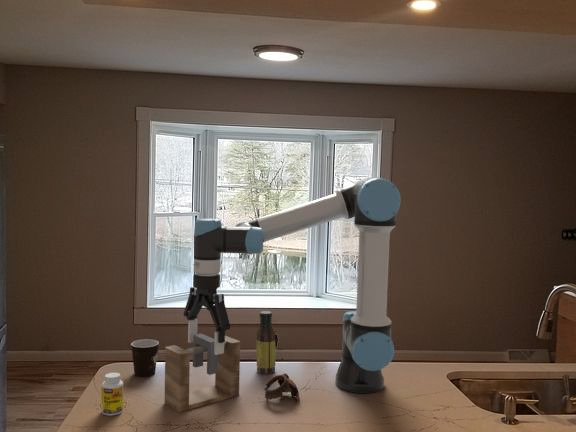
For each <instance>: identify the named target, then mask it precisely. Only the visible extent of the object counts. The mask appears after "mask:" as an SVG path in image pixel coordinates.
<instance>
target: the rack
mask: <svg viewBox="0 0 576 432" xmlns="http://www.w3.org/2000/svg"><path fill="white" fill-rule="evenodd" d="M164 348H165V349H164V404H166V405H167V406H169V407H170V408H172V409H173V410H175V411H177V413H181V412H187V411H190V410H192V409H196V408H199V407H202V406H206V405H209V404H213V403H216V402H220V401H224V400H227V399H230V398H234V397H237V396H240V373H241V372H240V368H241V367H240V365H241V364H240V363H241V359H240V358H241V341H240V340H238V339H235V338H232V337H230V336H227V335H225V342H224V353H222V354H218V370H217V373H215V374H214V376H215V378H214V385H212V386H208V387H204V388H200V389H195V390H192V391H190V370H191V368H190V365H191V364H190V361H191V360H190V358H191V356H193V354H198V353H202V352H203V353H206V352H207V348H204V347H202V346H199V347H195V348H193V347H190V348H186V349H185V348H182V347H180V346H178V345H176V344H175V345H174V344H173V345H169V346H165V347H164Z"/></svg>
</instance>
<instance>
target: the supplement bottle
mask: <svg viewBox="0 0 576 432" xmlns="http://www.w3.org/2000/svg"><path fill="white" fill-rule="evenodd" d="M121 378H122V377H121V374H120V373H119V372H108V373H106V374H105V375H104V381H103V382H102V383H101V401H100V402H101V407H100V408H101V410H100V411H101V413H102V415H105V416H117V415H119V414H121V413H122V412H123V410H124V382H123V380H121Z"/></svg>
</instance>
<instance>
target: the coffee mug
mask: <svg viewBox="0 0 576 432" xmlns="http://www.w3.org/2000/svg"><path fill="white" fill-rule="evenodd" d="M130 345H131V354H132V364H133V371H134V373H133V375H134V376H135V377H137V378H149V377H150V378H151V377H153V376H155V375H156V368H157V361H158V354H159V353H158V352H159V345H160V343H159V341H158V340H155V339H146V338H145V339H138V340H133V342H131V343H130Z"/></svg>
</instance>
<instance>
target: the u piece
mask: <svg viewBox="0 0 576 432" xmlns="http://www.w3.org/2000/svg"><path fill="white" fill-rule="evenodd" d="M214 343H215V338H213V337H210V336H208V335H206V334H204V333H197V334H196V335H193V342H192V348H195V347H199V346H202V347H204V348H207V353H206V355H207V356H206V357H207V358H206V374H207V375H209V376H211V375H215V373H217V370H218V355H215V354H214ZM203 366H204V352H202V353H198V354H193V355H192V367H193V368H199V367H203Z"/></svg>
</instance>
